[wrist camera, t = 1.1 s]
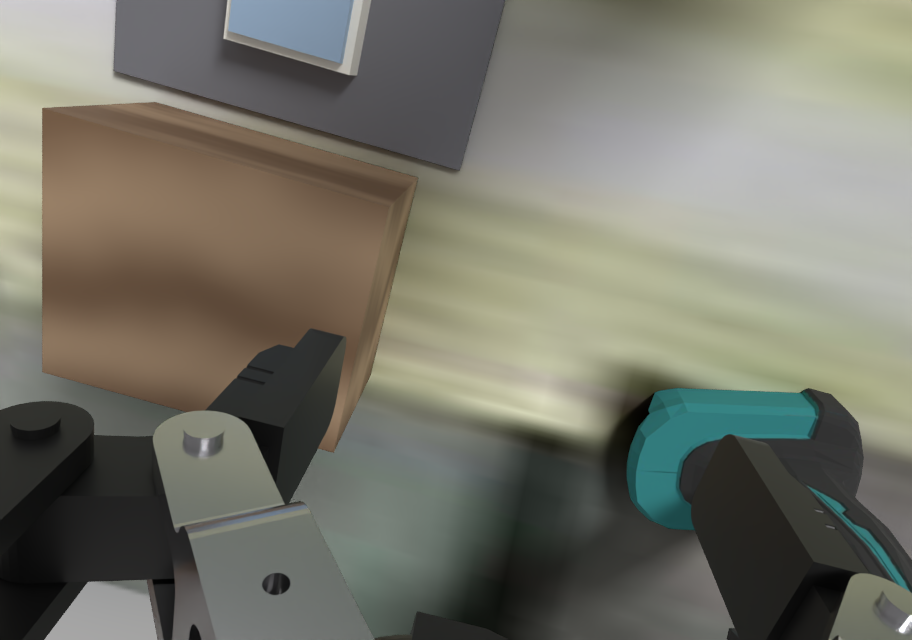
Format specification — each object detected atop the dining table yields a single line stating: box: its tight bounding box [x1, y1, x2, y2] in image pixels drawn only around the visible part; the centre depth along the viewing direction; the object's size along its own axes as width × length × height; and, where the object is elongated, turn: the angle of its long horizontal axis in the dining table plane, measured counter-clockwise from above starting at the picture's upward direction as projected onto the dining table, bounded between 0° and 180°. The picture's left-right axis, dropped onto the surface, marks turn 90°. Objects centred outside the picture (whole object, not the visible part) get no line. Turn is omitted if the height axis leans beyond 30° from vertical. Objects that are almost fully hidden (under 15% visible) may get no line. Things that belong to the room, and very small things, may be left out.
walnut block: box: [42, 102, 418, 453], centre depth 29 cm, size 12×14×8 cm
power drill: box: [626, 388, 912, 640], centre depth 24 cm, size 26×9×25 cm, turn 90°
